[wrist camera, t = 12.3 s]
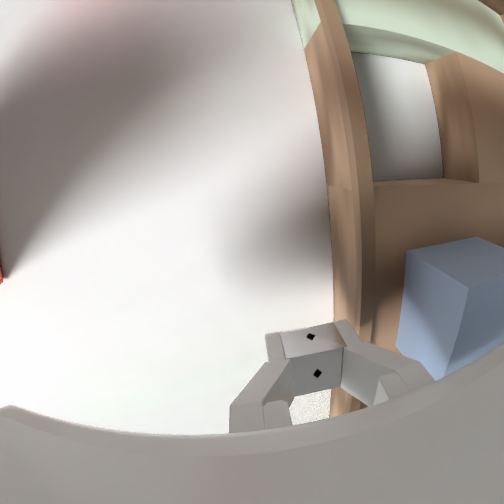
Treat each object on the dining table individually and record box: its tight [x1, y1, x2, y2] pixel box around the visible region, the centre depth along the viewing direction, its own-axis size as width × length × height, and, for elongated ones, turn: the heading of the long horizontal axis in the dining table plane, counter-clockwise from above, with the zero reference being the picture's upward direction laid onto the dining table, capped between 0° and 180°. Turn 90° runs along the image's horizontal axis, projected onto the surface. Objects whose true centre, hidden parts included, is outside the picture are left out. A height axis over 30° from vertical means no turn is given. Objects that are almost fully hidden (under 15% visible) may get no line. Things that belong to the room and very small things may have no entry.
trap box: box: [291, 0, 504, 418], centre depth 10 cm, size 36×17×6 cm, turn 8°
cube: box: [396, 237, 504, 381], centre depth 9 cm, size 5×5×4 cm
